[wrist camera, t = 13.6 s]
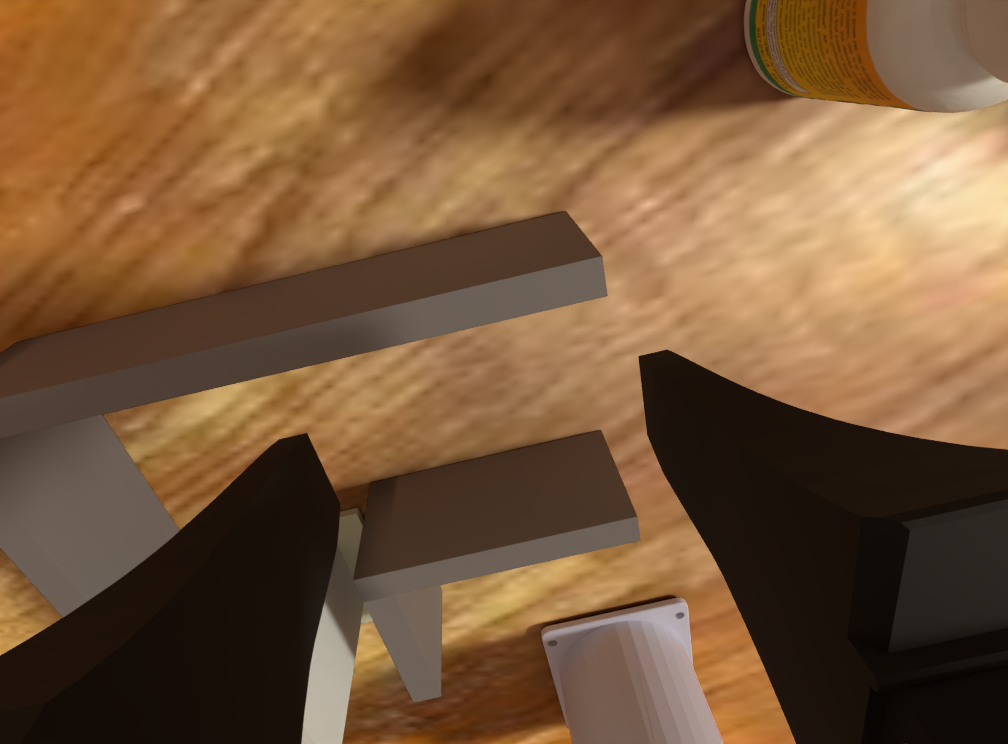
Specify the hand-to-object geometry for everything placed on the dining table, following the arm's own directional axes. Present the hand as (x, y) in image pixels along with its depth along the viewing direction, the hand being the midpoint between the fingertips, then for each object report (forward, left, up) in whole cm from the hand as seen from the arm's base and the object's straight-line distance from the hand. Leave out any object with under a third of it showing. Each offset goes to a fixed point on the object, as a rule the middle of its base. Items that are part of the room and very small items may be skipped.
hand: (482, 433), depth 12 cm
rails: (-7, +6, -10) cm, 14 cm away
